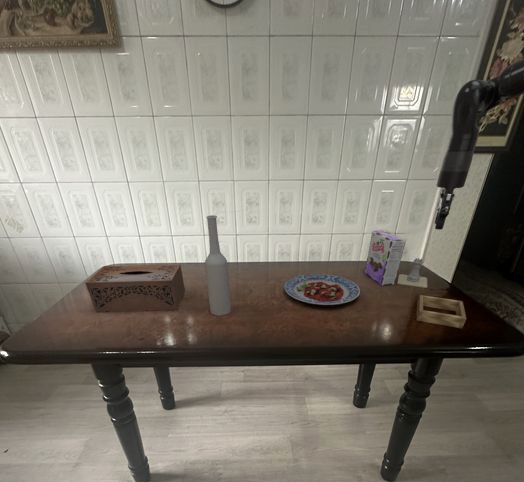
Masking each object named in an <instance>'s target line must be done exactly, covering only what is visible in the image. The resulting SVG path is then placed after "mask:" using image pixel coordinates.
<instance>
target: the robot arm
mask: <svg viewBox="0 0 524 482" xmlns="http://www.w3.org/2000/svg"><path fill="white" fill-rule="evenodd" d="M521 95H524V57H523V58H521V59H519V60H517V61H515V62H513V63H512V64H510V65H508V66H506V67H505V68H503V70H502V71H501V73H500V74H499V75H497V76H495V77H493V78H490V79H487V80H483V79H471V80H469V81H467V82H466V83H464V84H463V85H462V86H461V88H460V89H459V90H458V92H457V94H456V96H455V98H454V101H453V104H452V105H453V107H452V113H451V124H450V125H451V126H450V127H451V130H450V131H451V132H450V133H451V134H450V136H449V141H448V144H447V148H446V152H445V154H444V156H443V158H442V159H443V160H442V163H441V167H440V170H439V174H438V178H437V182H436V187H437V188H440V189H442V190H441V193H439V196H438V202H437V209H436V212H437V213H436V216H435V219H434V224H435V226H434V229H435V230H437V231H439V230H440V231H442V230H443V229H444V225H445V222H446V219H447V217H448V216H449V214H450V210H451V208H452V205H453V201H454V200H455V198H456V197H455V196H456V194H455V193H454V190H455V189H462V188H464V187H465V184H466V181H467V179H468V174H469V172H470V169H471V165H472V163H473V158H474V152H475V149H476V146H477V143H478V140H479V136H480V129H481V128H480V127H479V126H478V125H477V119H478V115H481V114H483V113H486V112H488V111H490V110H493V109H494V108H496V107H499V106H500V105H503V104H504V103H506V102H507V101H509V100H511V99H515V98H517V97H519V96H521Z"/></svg>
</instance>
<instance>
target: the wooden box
mask: <svg viewBox="0 0 524 482" xmlns="http://www.w3.org/2000/svg"><path fill="white" fill-rule="evenodd" d="M424 307H427V308H433V309H438V310H439V309H440V310H444V311H445V310H447V311H452V312H455V314H449V313H443V312H438V311H432V310H431V311H430V310H424ZM415 318H416V319H415V320H416V321H417V322H422V323H428V324H435V325H440V326H444V327H445V326H447V327H451V328H458V329H463V328H464V326H465V324H466V321H467V315H466V311H465V306H464V302H463V301H462V300H457V299H450V298H443V297H436V296H429V295H424V294H420V295H419V296H418V300H417V303H416V317H415Z"/></svg>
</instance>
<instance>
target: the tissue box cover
mask: <svg viewBox="0 0 524 482" xmlns="http://www.w3.org/2000/svg"><path fill="white" fill-rule="evenodd" d="M85 286H86V289H87V292H88V294H89V298H90V300H91V302H92V305H93V308H94V311H95V313H107V312H106V311H130V312H147V311H146V310H149V311H148V312H151V311H150V310H165V311H178V310H179V308H180V305H181V303H182V301H181V299H182V300H183V298H182V297H184V296H183V294H184V295H185V293H184V291H185V292H186V288H185V283H184V276H183V270H182V265H181V264H180V263H179V264H178V263H177V264H175V263H174V264H173V263H172V264H140V265H139V264H138V265H137V264H134V265H133V264H132V265H103V266H102V267H101V268H100V269H99V270H98V271H97V272H95V274H93V275H92V276H91V277H90V278H89V279H87V280H86V281H85ZM180 302H181V303H180ZM179 304H180V305H179ZM178 307H179V308H178Z"/></svg>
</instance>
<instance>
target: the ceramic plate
mask: <svg viewBox="0 0 524 482" xmlns="http://www.w3.org/2000/svg"><path fill="white" fill-rule="evenodd" d="M284 291H285V292H286V293H287V295H288V296H290V297H291V298H293V299H295V300H297V301H300V302H303V303H307V304H312V305H319V306H335V305H342V304H346V303H350V302H352V301H354V300H356V299H357V298H359V296H360V294H361V289H360V286H359V285H358V284H356V283H355V282H354V281H352V280H351V279H348V278H345V277H341V276H339V275H338V276H337V275H333V274H325V273H312V274H303V275H299V276H295V277H292V278H291V279H289V280H287V281H286V283H285V284H284Z"/></svg>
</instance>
